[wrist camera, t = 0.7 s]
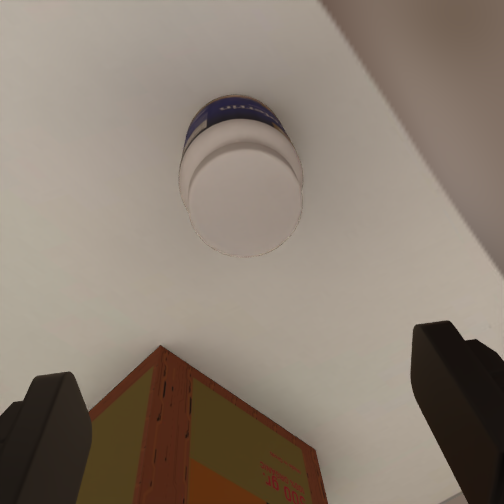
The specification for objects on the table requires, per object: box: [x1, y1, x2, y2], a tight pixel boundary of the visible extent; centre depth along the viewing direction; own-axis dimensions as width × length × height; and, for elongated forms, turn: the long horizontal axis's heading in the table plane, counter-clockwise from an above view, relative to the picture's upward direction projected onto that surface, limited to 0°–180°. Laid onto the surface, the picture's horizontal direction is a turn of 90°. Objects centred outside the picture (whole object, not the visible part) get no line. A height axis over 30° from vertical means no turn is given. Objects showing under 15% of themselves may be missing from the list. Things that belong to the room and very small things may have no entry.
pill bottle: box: [179, 95, 303, 257], centre depth 24 cm, size 6×6×10 cm
